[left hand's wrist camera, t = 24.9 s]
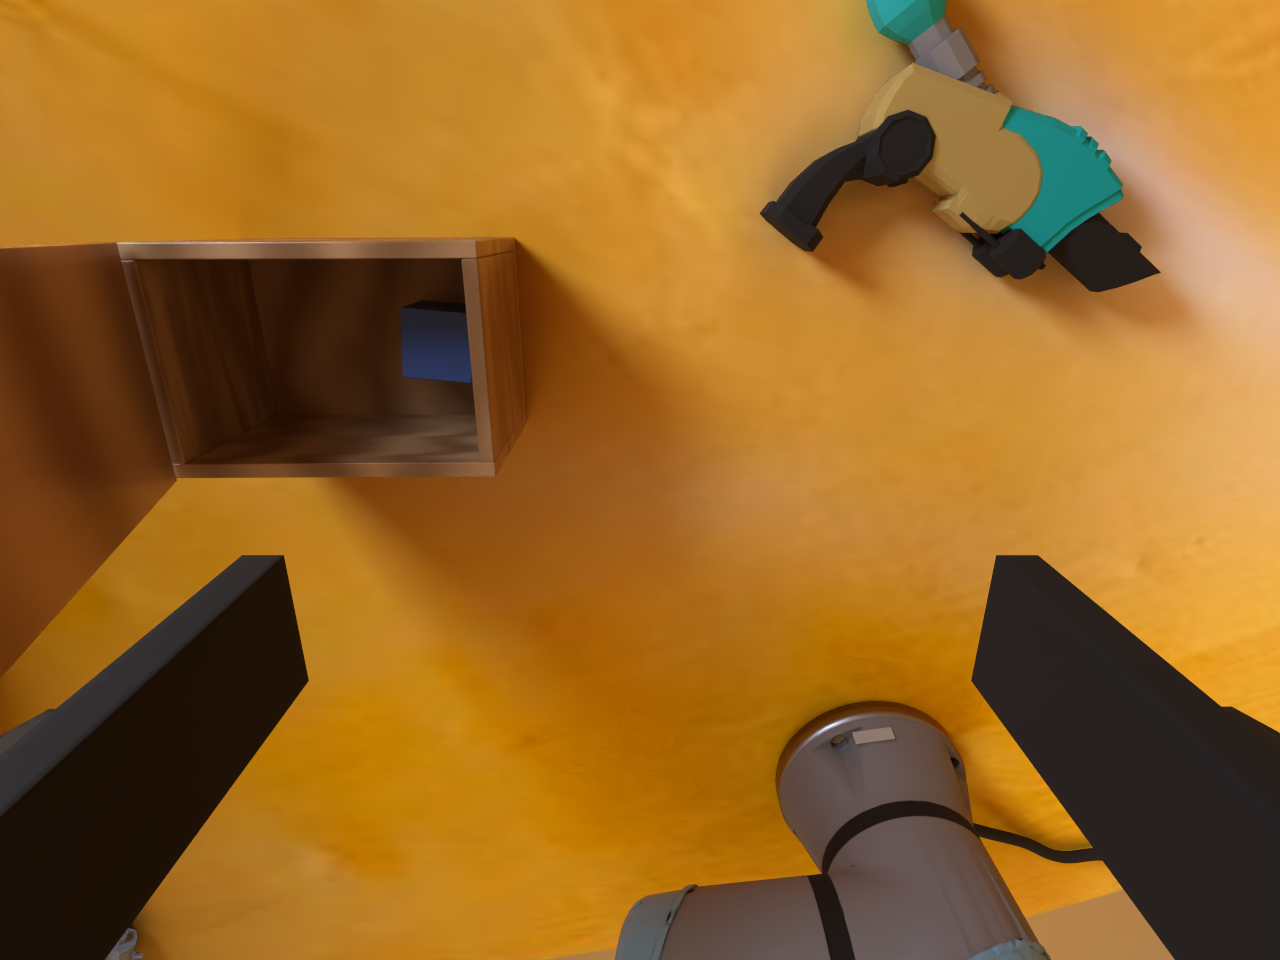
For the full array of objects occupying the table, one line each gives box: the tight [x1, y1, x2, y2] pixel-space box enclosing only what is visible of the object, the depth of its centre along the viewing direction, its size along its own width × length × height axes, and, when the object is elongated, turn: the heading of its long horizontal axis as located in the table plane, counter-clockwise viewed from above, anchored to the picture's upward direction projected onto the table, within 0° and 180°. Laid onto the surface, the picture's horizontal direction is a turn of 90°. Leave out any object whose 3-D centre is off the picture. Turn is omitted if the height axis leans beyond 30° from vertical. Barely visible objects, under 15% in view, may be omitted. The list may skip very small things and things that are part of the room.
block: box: [400, 300, 472, 383], centre depth 43 cm, size 4×4×4 cm
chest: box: [116, 237, 527, 478], centre depth 41 cm, size 18×12×11 cm
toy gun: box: [760, 0, 1161, 292], centre depth 41 cm, size 4×26×15 cm
